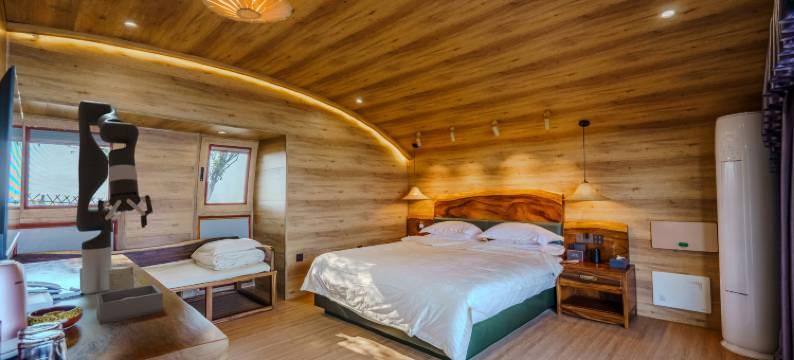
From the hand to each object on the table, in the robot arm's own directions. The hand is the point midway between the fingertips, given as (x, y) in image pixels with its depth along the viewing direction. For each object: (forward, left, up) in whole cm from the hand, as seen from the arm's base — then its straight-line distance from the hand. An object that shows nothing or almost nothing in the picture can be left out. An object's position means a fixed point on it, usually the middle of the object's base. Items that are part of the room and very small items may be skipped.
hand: (127, 229), depth 121 cm
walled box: (-1, +2, -27) cm, 27 cm away
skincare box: (-13, +13, -27) cm, 33 cm away
